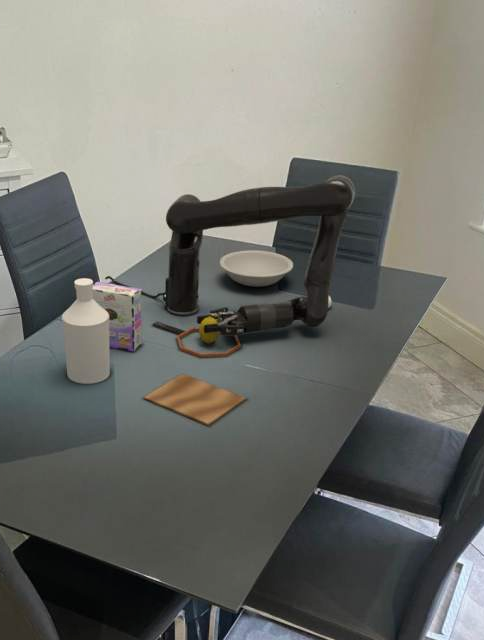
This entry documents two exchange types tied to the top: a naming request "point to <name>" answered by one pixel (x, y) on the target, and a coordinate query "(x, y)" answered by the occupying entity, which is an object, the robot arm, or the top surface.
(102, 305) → the candy box
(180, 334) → the magnifying glass
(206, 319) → the lemon
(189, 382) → the wooden cutting board
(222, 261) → the soup bowl
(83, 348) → the bottle
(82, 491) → the top surface
